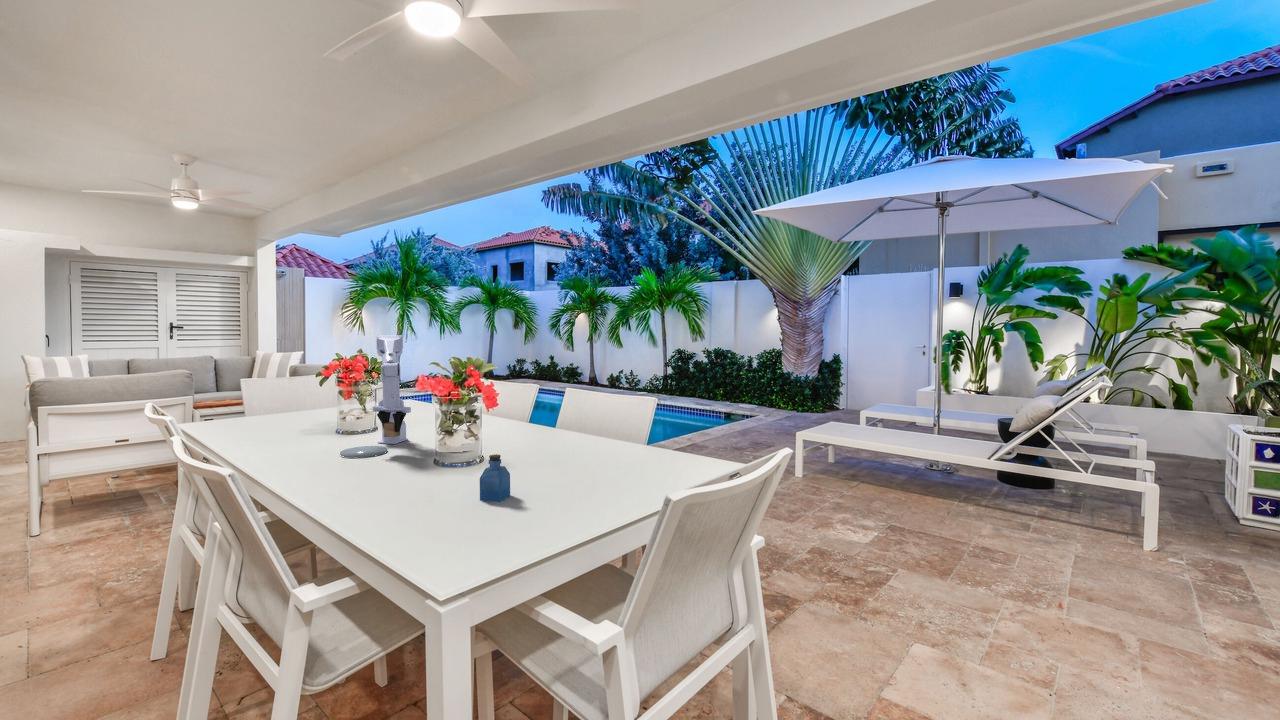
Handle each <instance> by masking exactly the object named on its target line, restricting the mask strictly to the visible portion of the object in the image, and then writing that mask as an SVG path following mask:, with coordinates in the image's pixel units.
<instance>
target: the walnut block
mask: <svg viewBox="0 0 1280 720" xmlns="http://www.w3.org/2000/svg"><path fill="white" fill-rule="evenodd" d="M399 435H400V431H399V432H395V423H394V422H387V423H384V437H396V436H399Z"/></svg>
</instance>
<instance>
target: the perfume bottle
mask: <svg viewBox="0 0 1280 720" xmlns="http://www.w3.org/2000/svg"><path fill="white" fill-rule="evenodd" d="M488 457H489V459H488V465H489V466H488V467H485V469H484V470H483V472H482V474H481V475H480V476H479V477H480V478H479V501H481V500H483V501H484V502H495V501H497V502H499V503H501V502H503V501H504V500H505V498H506V499H507V498H509V497H510V496H511V473H510V472H509V470H508V469H507V467H506V466H505V465H501V464H502V459H501V454H496V453H495V454H490V455H489V456H488ZM497 502H496V503H497Z"/></svg>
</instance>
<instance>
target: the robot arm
mask: <svg viewBox="0 0 1280 720" xmlns="http://www.w3.org/2000/svg"><path fill="white" fill-rule="evenodd" d="M375 338H376V353H377V355H378V356H379V357H381V360H382V362H381V365H380V376H381V381H382V382H381V383H382V398H381V399H380V400H379V401H378V405H375V406H372V407H371V408H372V413H376V412H378V413H376V416H377V418H378V420H379V421H380V423H381V431H382V435H381V436H382V437H381V439H382V440H380V441H377V444H384V445H385V444H388V445H391V444H393V445H396V444H399V443H401V442H405V441H407V440H409V438H407V425H406V422H405V417H406V415H407V414H409V413H410V414H411V413H412V408H411V407H410V406H405V404H404V402H405V401H404V400H403V399H402V398H401V397H400V391H401V390H400V378H401V363H400V362H399V361H400V360H399V356H400V357H401V356H402V354H403V349H404V340H403V339H404V338H403V335H402V334H399V335H398V334H397V335H394V334H392V335H391V334H388V335H387V334H385V335H384V334H383V335H382V334H381V335H379V334H378V335H377V336H376V337H375ZM387 422H394V423H395V432H399V431H400V435H399V436H396V437H384V423H387Z"/></svg>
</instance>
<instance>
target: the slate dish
mask: <svg viewBox="0 0 1280 720" xmlns="http://www.w3.org/2000/svg"><path fill="white" fill-rule="evenodd" d="M385 452H386V453H388V447H386V446H383V445H382V446H381V445H363V446H356V447H355V446H354V447H350V448H346V449H343V450H341V451H340V452H339V456H340V455H341V456H344V457H366V458H369V457H368V456H373V457H376V456H375V455H378V456H381V455H380V454H382V455H384V454H383V453H385ZM386 453H385V454H386ZM341 456H340V457H341ZM344 457H343V458H344Z"/></svg>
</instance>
